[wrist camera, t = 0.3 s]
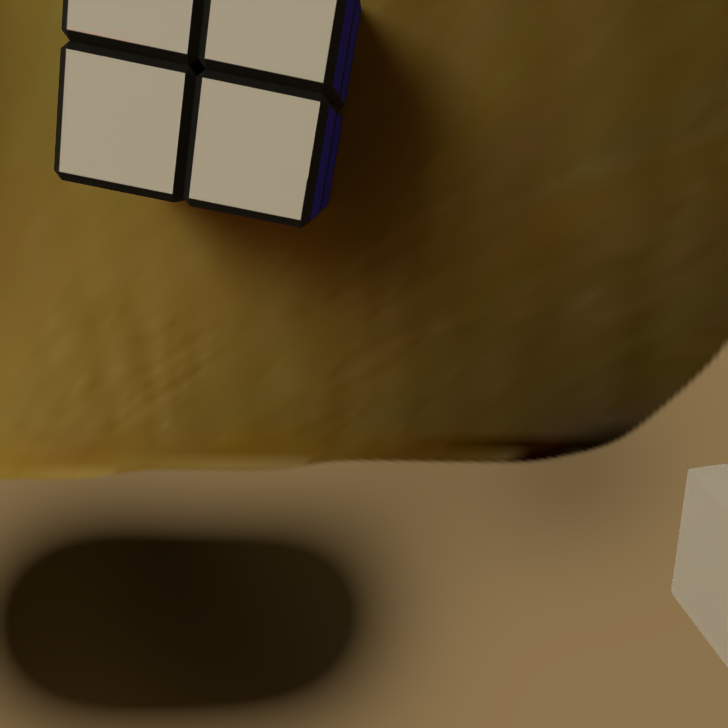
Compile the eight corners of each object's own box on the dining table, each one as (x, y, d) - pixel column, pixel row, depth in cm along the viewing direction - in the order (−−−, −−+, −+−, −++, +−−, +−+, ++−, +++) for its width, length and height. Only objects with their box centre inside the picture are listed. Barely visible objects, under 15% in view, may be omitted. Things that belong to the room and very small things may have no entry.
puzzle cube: (327, 211, 35) (308, 230, 26) (139, 174, 35) (49, 179, 25) (362, 3, 32) (356, -61, 23) (158, -40, 32) (64, -124, 22)
